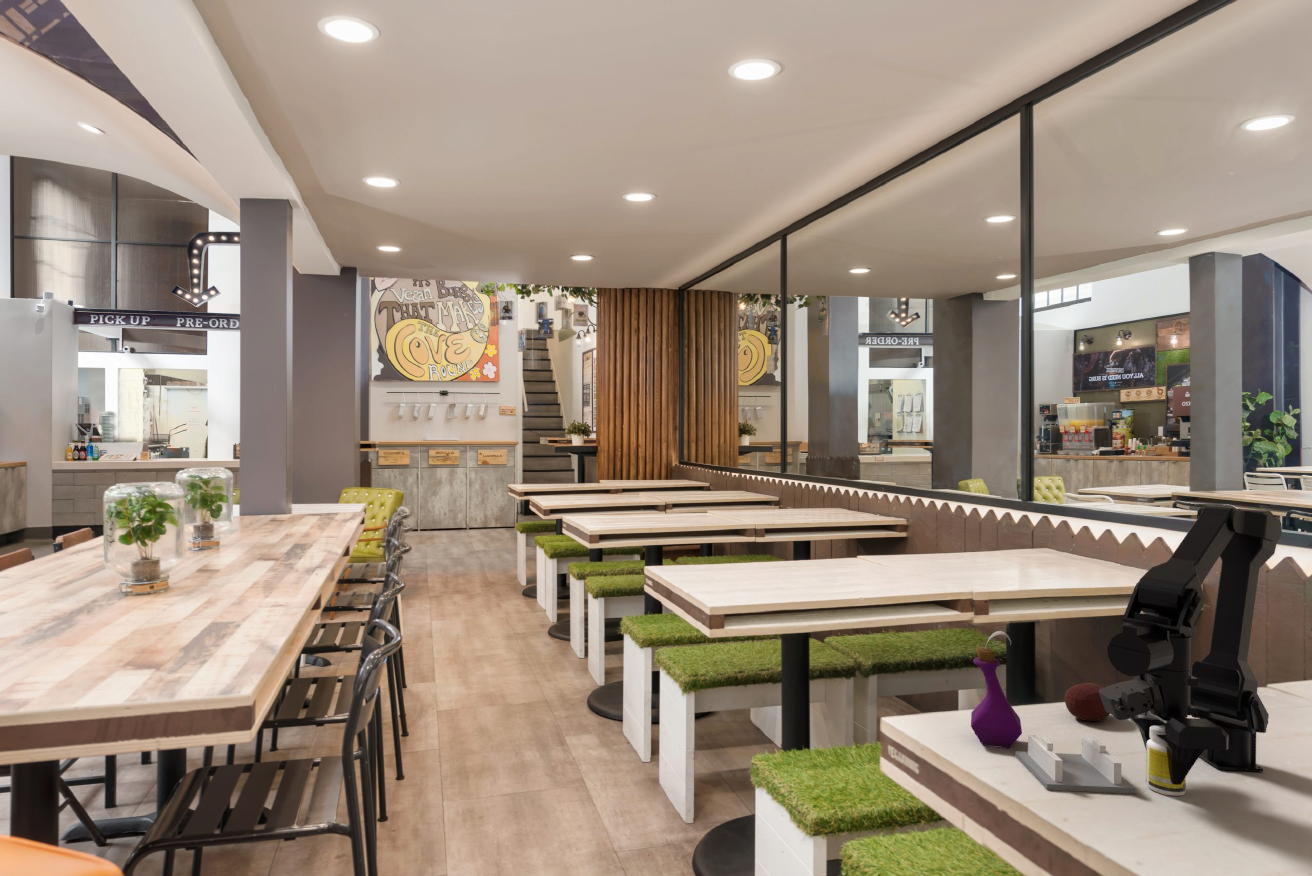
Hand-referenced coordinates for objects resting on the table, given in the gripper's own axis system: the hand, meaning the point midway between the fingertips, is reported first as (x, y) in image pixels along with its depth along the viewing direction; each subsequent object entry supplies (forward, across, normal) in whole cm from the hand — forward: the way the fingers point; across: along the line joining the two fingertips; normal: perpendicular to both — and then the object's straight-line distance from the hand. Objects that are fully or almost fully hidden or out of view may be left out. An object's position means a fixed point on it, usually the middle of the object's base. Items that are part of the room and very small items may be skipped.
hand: (1165, 776), depth 114 cm
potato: (+2, -30, +3) cm, 30 cm away
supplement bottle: (+2, 0, 0) cm, 2 cm away
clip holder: (+2, -4, -11) cm, 12 cm away
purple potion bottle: (+2, -16, -18) cm, 24 cm away
